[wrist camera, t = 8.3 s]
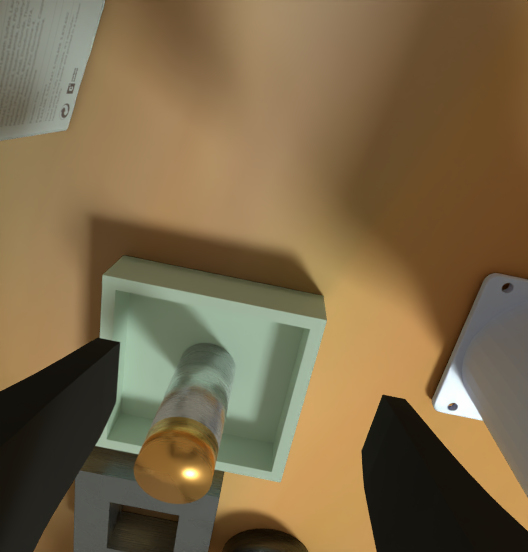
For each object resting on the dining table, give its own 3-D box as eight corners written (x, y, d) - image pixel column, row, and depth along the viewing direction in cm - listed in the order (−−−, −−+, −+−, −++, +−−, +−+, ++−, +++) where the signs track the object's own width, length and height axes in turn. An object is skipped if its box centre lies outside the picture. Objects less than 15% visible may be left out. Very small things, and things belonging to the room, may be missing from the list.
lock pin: (244, 355, 22) (223, 462, 16) (224, 398, 23) (197, 513, 17) (189, 334, 22) (146, 434, 16) (172, 378, 23) (124, 488, 17)
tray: (323, 295, 21) (326, 320, 19) (281, 446, 25) (280, 482, 23) (123, 255, 21) (102, 274, 19) (113, 413, 25) (94, 445, 23)
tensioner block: (339, 484, 26) (344, 527, 23) (299, 595, 30) (300, 641, 28) (94, 436, 26) (72, 474, 23) (89, 554, 30) (70, 597, 28)
